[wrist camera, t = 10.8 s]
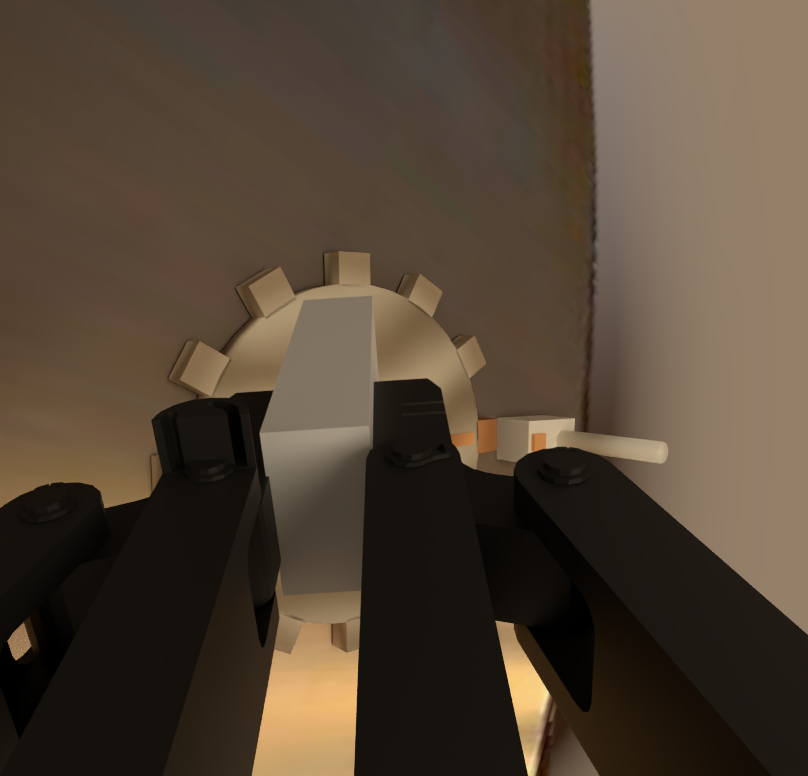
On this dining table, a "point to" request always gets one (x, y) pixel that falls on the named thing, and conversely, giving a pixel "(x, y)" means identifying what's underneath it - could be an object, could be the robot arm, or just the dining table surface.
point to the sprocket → (397, 360)
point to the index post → (568, 440)
